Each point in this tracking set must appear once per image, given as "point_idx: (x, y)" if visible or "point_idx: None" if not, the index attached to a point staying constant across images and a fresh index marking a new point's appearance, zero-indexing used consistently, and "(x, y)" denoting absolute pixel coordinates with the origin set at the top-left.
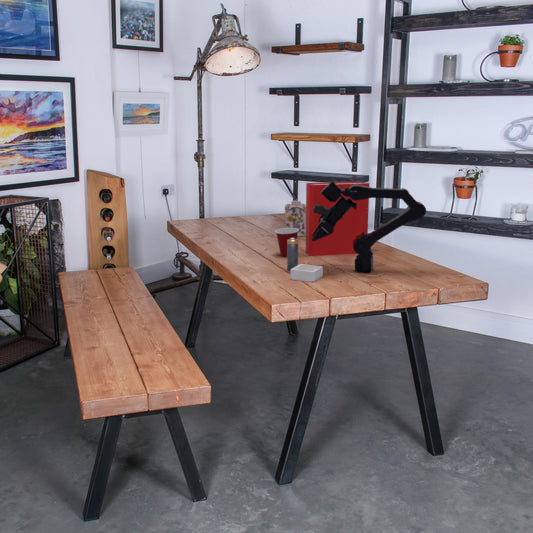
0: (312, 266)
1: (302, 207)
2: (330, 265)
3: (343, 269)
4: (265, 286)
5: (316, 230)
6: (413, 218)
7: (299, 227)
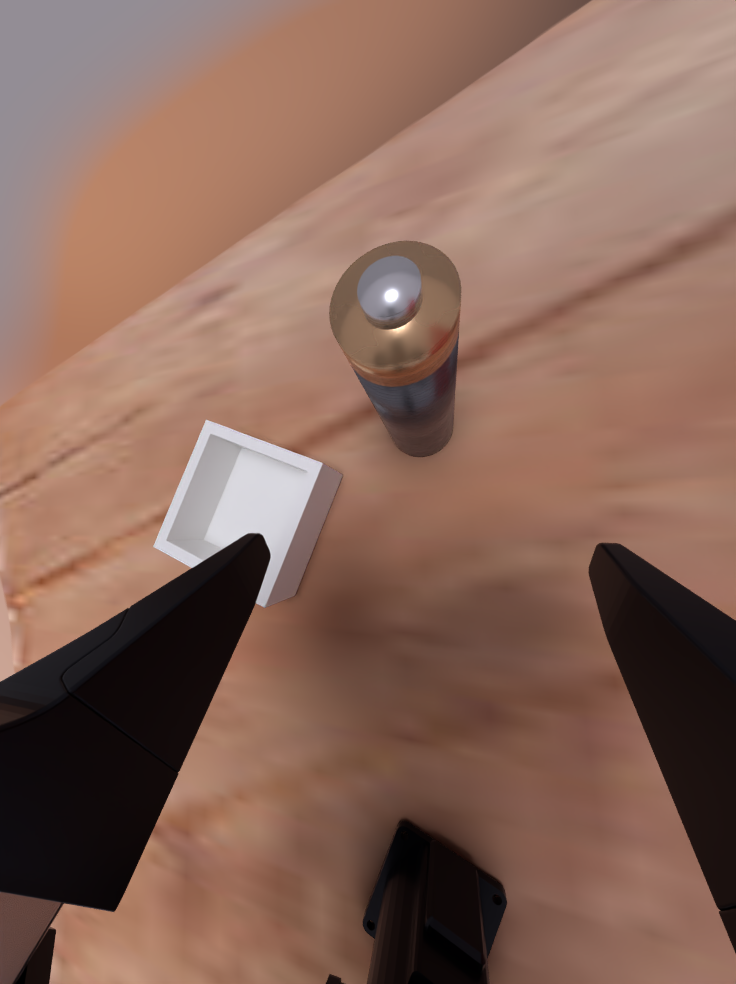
0: (280, 540)
1: None
2: (579, 674)
3: (464, 751)
4: (152, 353)
5: (682, 658)
6: None
7: None
